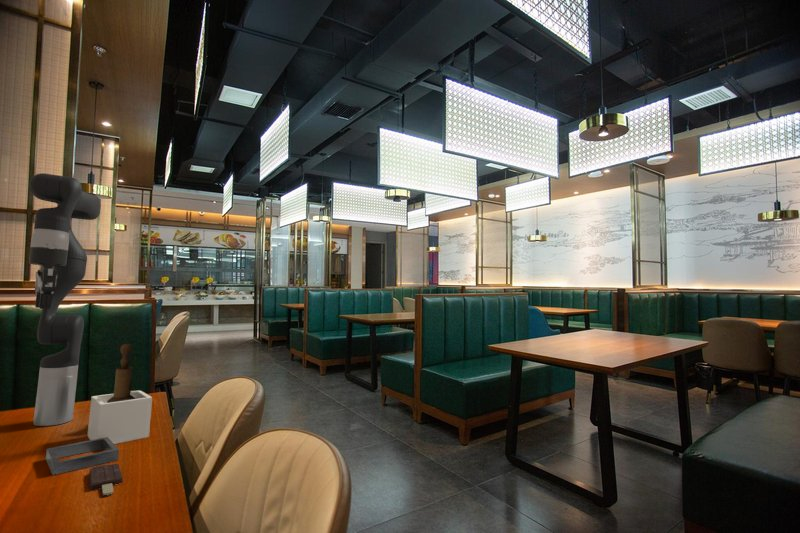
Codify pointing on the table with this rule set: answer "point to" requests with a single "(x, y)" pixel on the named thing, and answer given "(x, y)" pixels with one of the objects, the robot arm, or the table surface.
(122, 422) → the box
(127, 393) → the mortar and pestle
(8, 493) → the table surface
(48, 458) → the low collar
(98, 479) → the ice cream bar
